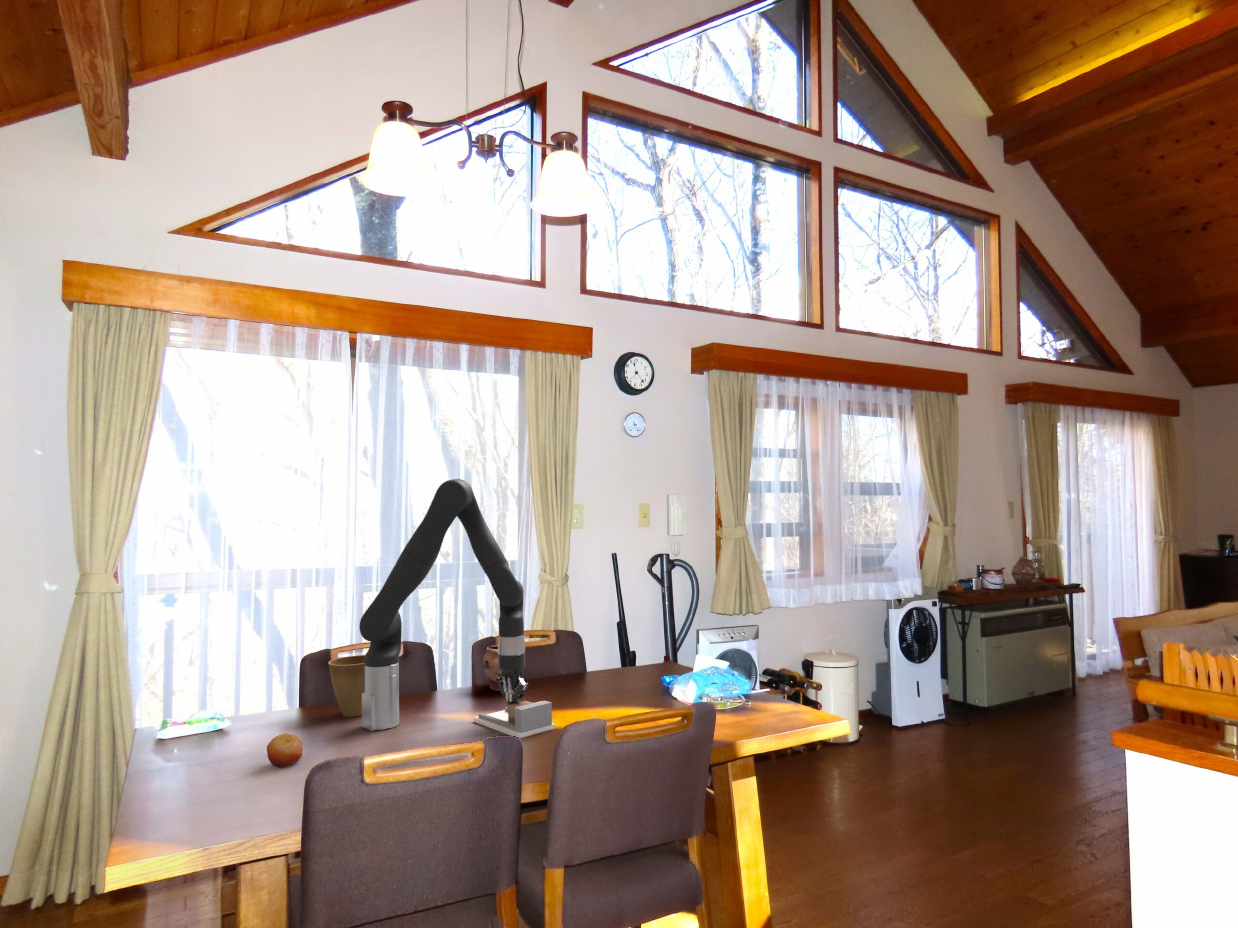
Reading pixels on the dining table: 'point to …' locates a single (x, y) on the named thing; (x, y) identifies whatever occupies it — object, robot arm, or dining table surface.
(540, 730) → the base
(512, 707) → the block
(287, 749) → the fruit
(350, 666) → the plant pot
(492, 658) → the decorative planter
